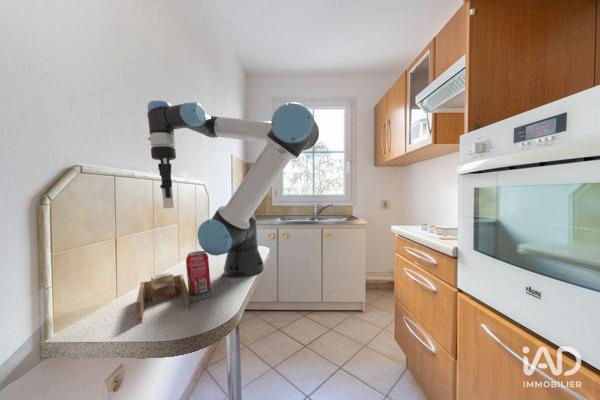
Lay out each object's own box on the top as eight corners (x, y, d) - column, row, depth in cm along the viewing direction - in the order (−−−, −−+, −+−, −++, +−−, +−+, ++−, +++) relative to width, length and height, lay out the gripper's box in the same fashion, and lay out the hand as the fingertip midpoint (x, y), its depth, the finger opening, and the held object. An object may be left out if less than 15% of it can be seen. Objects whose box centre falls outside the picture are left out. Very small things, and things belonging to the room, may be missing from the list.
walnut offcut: (175, 293, 76) (173, 281, 76) (175, 297, 73) (174, 284, 73) (152, 299, 73) (151, 286, 73) (152, 303, 70) (151, 289, 70)
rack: (183, 289, 79) (182, 274, 79) (189, 309, 63) (187, 290, 63) (142, 298, 73) (141, 282, 73) (138, 323, 58) (136, 302, 58)
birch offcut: (170, 281, 76) (169, 272, 76) (173, 284, 73) (172, 274, 73) (151, 286, 72) (150, 276, 72) (154, 289, 70) (153, 279, 70)
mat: (209, 287, 79) (209, 285, 79) (215, 296, 71) (215, 294, 71) (186, 293, 75) (185, 291, 75) (189, 303, 68) (188, 300, 68)
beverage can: (199, 287, 78) (196, 250, 78) (215, 288, 76) (212, 250, 76) (183, 295, 72) (180, 255, 72) (200, 296, 70) (197, 255, 70)
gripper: (151, 154, 94) (156, 208, 94) (149, 138, 72) (155, 209, 73) (173, 154, 98) (177, 207, 98) (177, 139, 76) (183, 206, 76)
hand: (168, 208), depth 85 cm, fingers open, 13 cm apart
